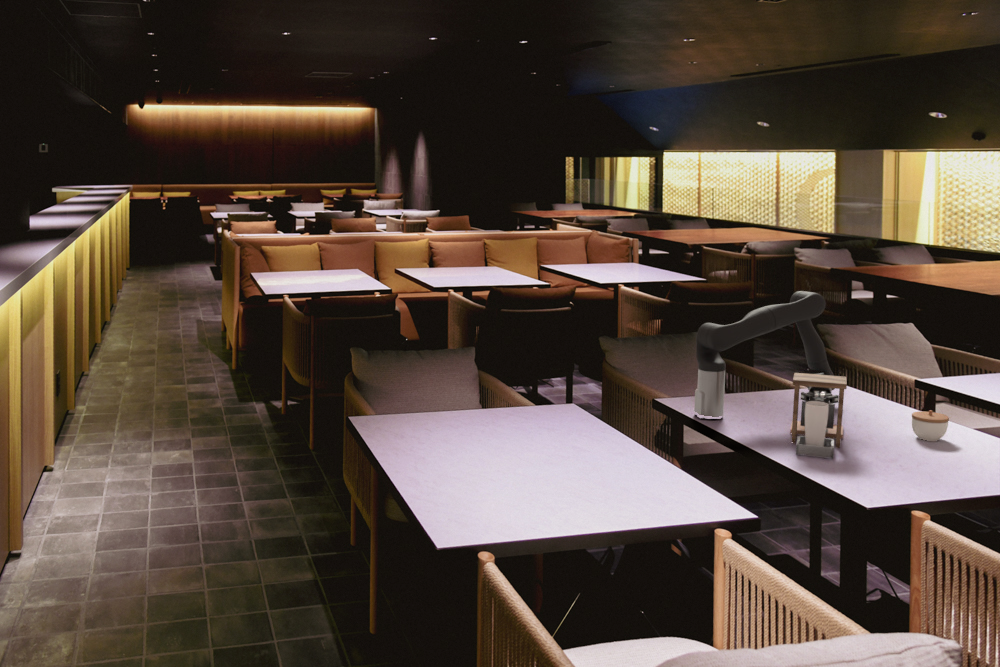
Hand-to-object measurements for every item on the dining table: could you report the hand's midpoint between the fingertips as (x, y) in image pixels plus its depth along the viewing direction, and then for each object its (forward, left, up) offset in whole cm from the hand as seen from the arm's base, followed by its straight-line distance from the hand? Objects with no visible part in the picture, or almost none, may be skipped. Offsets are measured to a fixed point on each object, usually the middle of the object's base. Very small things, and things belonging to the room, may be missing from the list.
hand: (818, 403), depth 291 cm
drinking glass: (-16, -26, -8) cm, 32 cm away
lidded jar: (+28, -19, -8) cm, 35 cm away
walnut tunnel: (-10, -17, -8) cm, 21 cm away
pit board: (-4, -6, -8) cm, 11 cm away
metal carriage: (-12, -21, -8) cm, 26 cm away
